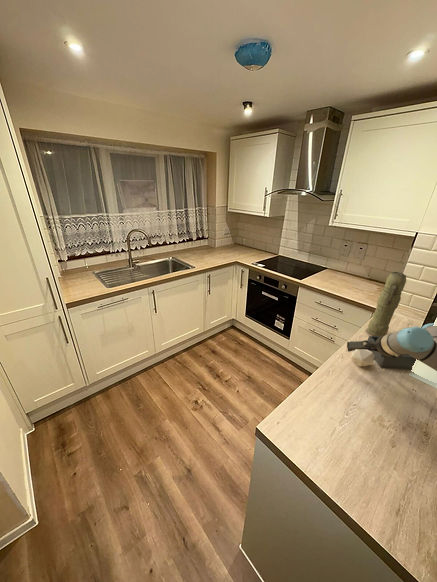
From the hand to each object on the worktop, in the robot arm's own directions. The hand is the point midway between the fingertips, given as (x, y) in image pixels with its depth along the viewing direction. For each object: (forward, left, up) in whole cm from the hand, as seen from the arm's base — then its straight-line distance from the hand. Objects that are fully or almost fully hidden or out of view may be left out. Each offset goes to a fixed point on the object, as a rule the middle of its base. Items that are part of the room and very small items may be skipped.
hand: (365, 351), depth 103 cm
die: (0, -1, -7) cm, 7 cm away
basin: (-15, -6, -7) cm, 18 cm away
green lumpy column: (-21, -26, -7) cm, 34 cm away
